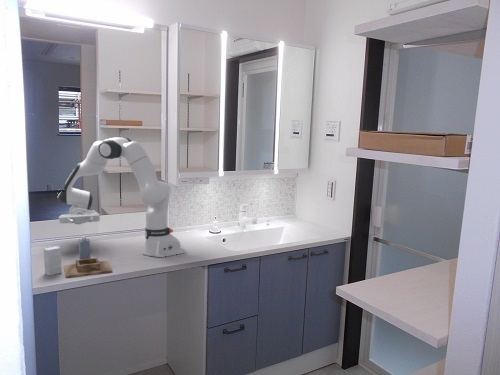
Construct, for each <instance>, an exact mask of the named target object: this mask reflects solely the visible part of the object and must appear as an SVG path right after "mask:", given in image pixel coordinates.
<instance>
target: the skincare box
mask: <svg viewBox="0 0 500 375" xmlns="http://www.w3.org/2000/svg"><path fill="white" fill-rule="evenodd" d="M43 263H44V275H47V276H48V277H49V276H50V277H51V276H53V275H57V274H60V273H61V274H62V254H61V247H59V246H55V245H54V246H51V247H47V248H43Z"/></svg>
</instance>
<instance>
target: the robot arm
mask: <svg viewBox="0 0 500 375" xmlns="http://www.w3.org/2000/svg"><path fill="white" fill-rule="evenodd" d="M120 158H123V159H125V161H127V164H128V165H129V168H130V169H131V171H132V173H133V175H134V177H135V179H136V181H137V183H138V184H137V185H138V188H139V190H140V198H141V200H142V202H143V203H144V204H146V205H148V206H147V210H146V212H145V230H144V237H145V242H144V243H145V244H144V248H143V255H145V256H147V257H148V256H149V257H156V258H164V257H165V256H166V257H171V256H177V255H180V254H181V255H182V254H185V253H184V252H186V250H185V248H183V247H182V246H181V242H180V239H178V238H177V237H176V236H175V235H173V234H172V233H173V231H174V230H173V228H171V227H168V223H167V221H168V210H169V209H168V208H169V203H170V195H171V190H172V189H171V186H170V185H169V183H167V182H165V181H162V180H161V181H160V180H158V177H157V172H156V168H155V166H154V164H153V163H152V160H151V158H150V157H149V155H148V153H147V152H146V151H145V149H144V147H143V146H142V145H141V144H140V143H139V142H138V141H136V140H135V141H132V140H131V139H130V138H129V137H126V136H120V137H119V136H117V137H110V138H106V139H104V140H97V141H95V142H94V143H93V144H92V145H91V147H90V149H89V150H88V152H87V155H86V157H85V159H84V160H83V161H82V162H78V163H77V164H76V165H75V166H74V168H72V169H71V170H72V171H71V172H70V174H69V175H68V177H67V178H66V179H65V182H64V183H65V186H64V189H65V191H64V193H63V192H62V191H61V192H60V193H59V194H58V193H57V194H58V196H57V195H56V196H57V197H56V199H57V201H58V202H59V203H60V204H62V203H65V204H64V205H71V207H70V208H69V210H68V213H67V214H61V215H59V216H58V220H59V224H63V225H64V224H75V225H82V224H85V223H93V222H94V223H95V222H96V223H97V222H100V221H101V217H100V216H101V214H100V213H99V212H97V211H96V210H95V209H91V207H92V205H93V200H94V198H93V194H92V193H91V192H90V191H87V190H84V189H79V188H74V187H73V186H74V184H75V182H76V181H77V179H78V178H81V177H85V176H96V175H99V174H102V173H103V172H104V170H105V169H106V166H107V164H108V161H109V160H114V159H120ZM176 254H177V255H176Z"/></svg>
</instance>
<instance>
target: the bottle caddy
mask: <svg viewBox="0 0 500 375" xmlns="http://www.w3.org/2000/svg"><path fill="white" fill-rule="evenodd" d="M63 270H64V274H65V278H66V279H69V278H76V277H84V276H92V275H100V274H109V272H110V273H113V269H112V266H111V265H110V263H109V261H108V260H99V258H98V257H90V258H88V259H80V258H79V259H75V263H72V264H64V265H63Z"/></svg>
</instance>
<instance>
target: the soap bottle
mask: <svg viewBox="0 0 500 375" xmlns="http://www.w3.org/2000/svg"><path fill="white" fill-rule="evenodd" d="M90 244H91V243H90V238H87V236H86V235H82V236H81V239H78V251H79V252H78V253H79V255H78V256H79V259H88V258H91V255H90V254H91V252H90V251H91V248H90V247H91V246H90Z"/></svg>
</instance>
